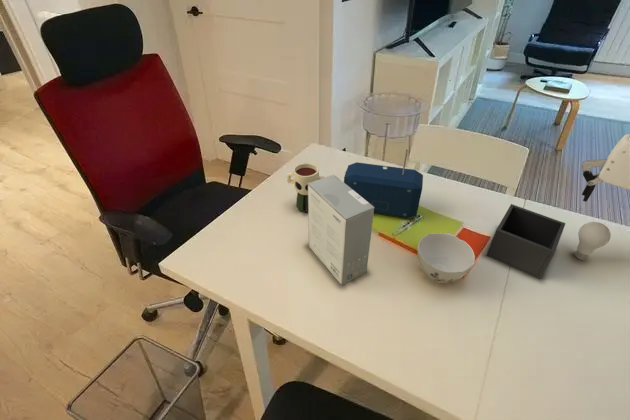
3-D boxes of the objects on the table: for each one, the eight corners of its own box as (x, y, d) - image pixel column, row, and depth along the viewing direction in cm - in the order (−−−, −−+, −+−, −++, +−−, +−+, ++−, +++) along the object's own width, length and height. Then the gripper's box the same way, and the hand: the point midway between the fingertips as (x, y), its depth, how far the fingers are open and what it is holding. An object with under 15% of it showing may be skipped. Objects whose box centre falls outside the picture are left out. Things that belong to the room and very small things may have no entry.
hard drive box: (367, 273, 89) (376, 208, 77) (341, 286, 86) (345, 220, 74) (332, 235, 100) (334, 173, 87) (307, 246, 96) (306, 182, 84)
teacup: (463, 302, 82) (472, 278, 77) (407, 285, 86) (412, 261, 81) (469, 257, 93) (478, 233, 88) (419, 243, 97) (425, 220, 92)
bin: (551, 249, 95) (565, 223, 90) (539, 279, 88) (554, 252, 82) (500, 229, 101) (511, 203, 96) (485, 255, 94) (496, 229, 88)
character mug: (285, 212, 108) (283, 174, 99) (292, 197, 113) (290, 160, 105) (322, 217, 106) (323, 178, 98) (327, 202, 111) (328, 164, 103)
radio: (416, 203, 110) (429, 143, 98) (415, 221, 104) (428, 159, 91) (347, 193, 115) (350, 134, 102) (341, 210, 108) (345, 149, 95)
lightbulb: (596, 269, 90) (619, 236, 83) (568, 264, 91) (589, 231, 84) (589, 252, 94) (610, 218, 88) (562, 247, 96) (581, 214, 89)
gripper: (711, 143, 70) (658, 213, 81) (605, 118, 78) (569, 185, 89) (714, 159, 65) (656, 231, 76) (600, 131, 74) (563, 200, 84)
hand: (609, 206), depth 83 cm, fingers open, 9 cm apart
